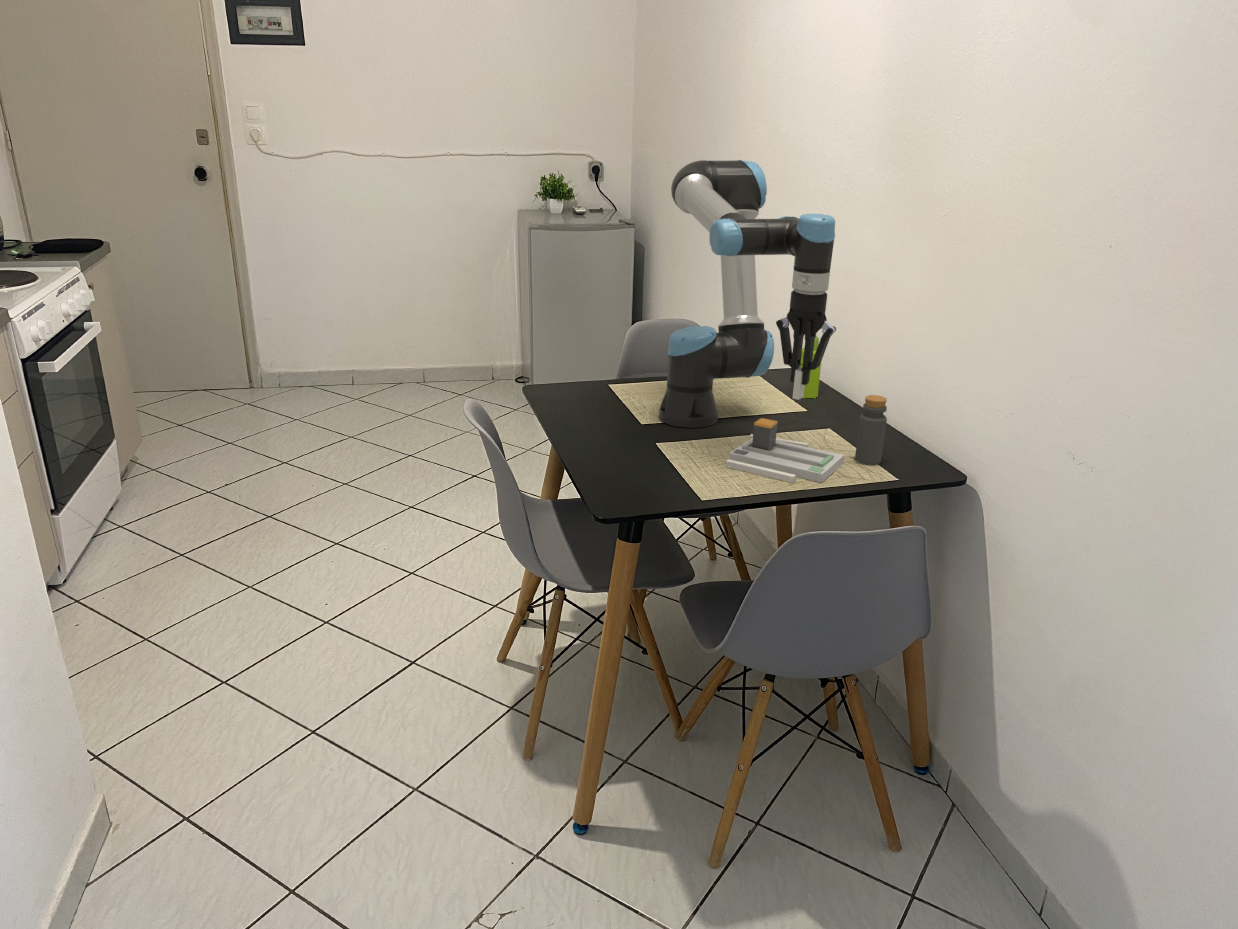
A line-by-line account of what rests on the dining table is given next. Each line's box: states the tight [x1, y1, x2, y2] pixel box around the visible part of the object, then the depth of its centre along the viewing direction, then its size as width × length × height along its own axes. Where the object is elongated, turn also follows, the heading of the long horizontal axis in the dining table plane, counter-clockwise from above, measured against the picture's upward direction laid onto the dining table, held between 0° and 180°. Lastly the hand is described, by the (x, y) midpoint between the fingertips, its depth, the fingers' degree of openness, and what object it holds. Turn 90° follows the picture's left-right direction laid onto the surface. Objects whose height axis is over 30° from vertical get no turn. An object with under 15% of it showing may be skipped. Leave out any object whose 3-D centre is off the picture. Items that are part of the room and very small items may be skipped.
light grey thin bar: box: [748, 433, 809, 447], centre depth 211 cm, size 14×1×1 cm, turn 65°
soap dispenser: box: [799, 327, 823, 399], centre depth 245 cm, size 6×7×20 cm
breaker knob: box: [752, 417, 778, 451], centre depth 202 cm, size 4×4×6 cm
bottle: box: [854, 394, 888, 466], centre depth 200 cm, size 6×6×15 cm
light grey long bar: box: [725, 458, 797, 484], centre depth 194 cm, size 16×1×1 cm, turn 57°
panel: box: [728, 438, 845, 483], centre depth 200 cm, size 22×14×3 cm, turn 57°
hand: (797, 397), depth 195 cm, fingers closed
